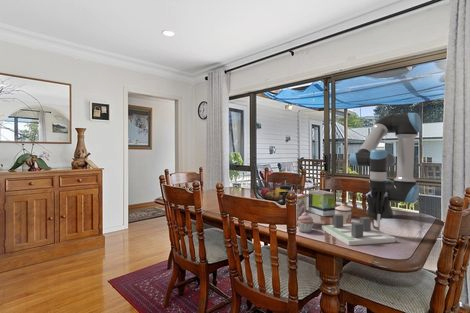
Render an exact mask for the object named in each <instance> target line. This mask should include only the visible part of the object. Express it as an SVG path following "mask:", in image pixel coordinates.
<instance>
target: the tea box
mask: <svg viewBox="0 0 470 313" xmlns="http://www.w3.org/2000/svg"><path fill="white" fill-rule="evenodd" d="M335 207H336V192H332V191H331V192H330V191H327V190H321V189H313V190H308V212H309V213H312V214H315V215H318V216H321V217H331V216H332V217H333V214H335Z"/></svg>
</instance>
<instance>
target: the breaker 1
mask: <svg viewBox="0 0 470 313" xmlns="http://www.w3.org/2000/svg"><path fill="white" fill-rule="evenodd" d="M332 225H333V226H335V227H343V215H341V214H333V216H332Z"/></svg>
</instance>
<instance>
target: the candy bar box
mask: <svg viewBox="0 0 470 313" xmlns="http://www.w3.org/2000/svg"><path fill="white" fill-rule="evenodd" d="M296 195H297V220H298V218H299V217H300V216H301V215H302V214H303V213H305V212H306V213H307V198H308V196H307V194H304V193H303V194H302V193H297V194H296Z"/></svg>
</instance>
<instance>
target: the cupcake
mask: <svg viewBox="0 0 470 313" xmlns="http://www.w3.org/2000/svg"><path fill="white" fill-rule="evenodd" d="M314 225H315V222H314V219H313V218H312V216H311V215H310V214H308V213H307V211H306V212H305V213H303V214H302V215H301V216H300V217H299V218H298V220H297V225H296V226H297V227H298V231H299V232H301V233H307V234H308V233H311V232H312V231H313V226H314Z"/></svg>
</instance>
